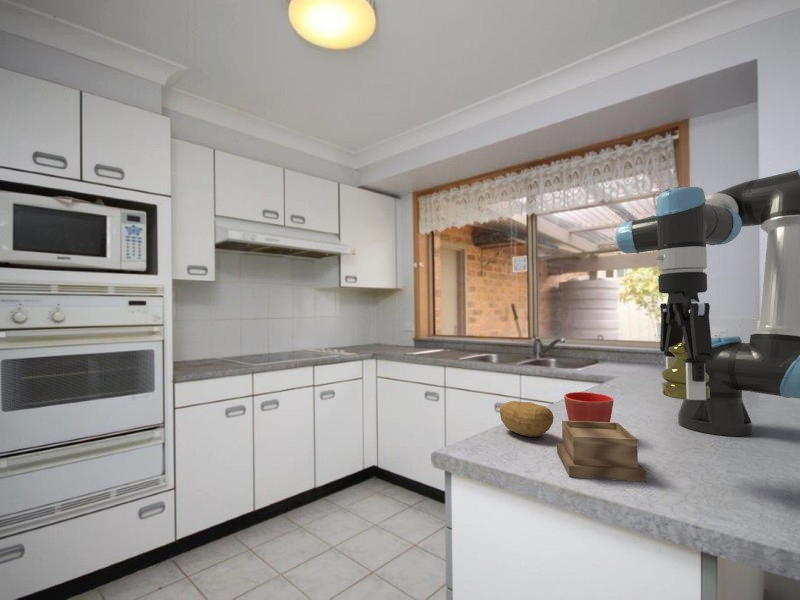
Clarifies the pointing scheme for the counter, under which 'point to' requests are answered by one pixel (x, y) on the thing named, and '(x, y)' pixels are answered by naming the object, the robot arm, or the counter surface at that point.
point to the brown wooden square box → (599, 451)
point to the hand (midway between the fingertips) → (685, 394)
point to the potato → (526, 418)
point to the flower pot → (588, 407)
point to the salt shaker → (678, 374)
